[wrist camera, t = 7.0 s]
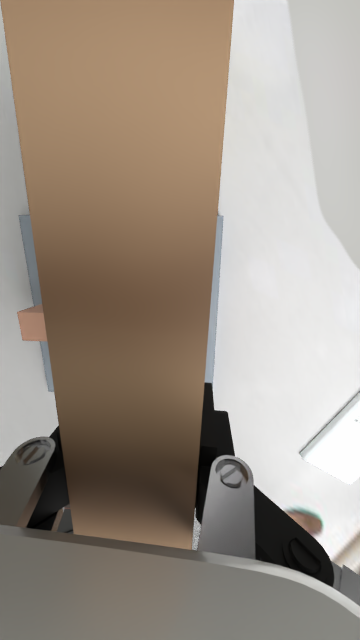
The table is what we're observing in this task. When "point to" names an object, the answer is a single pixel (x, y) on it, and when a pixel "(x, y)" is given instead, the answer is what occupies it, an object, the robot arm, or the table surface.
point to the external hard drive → (338, 445)
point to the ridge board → (39, 301)
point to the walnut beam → (124, 240)
